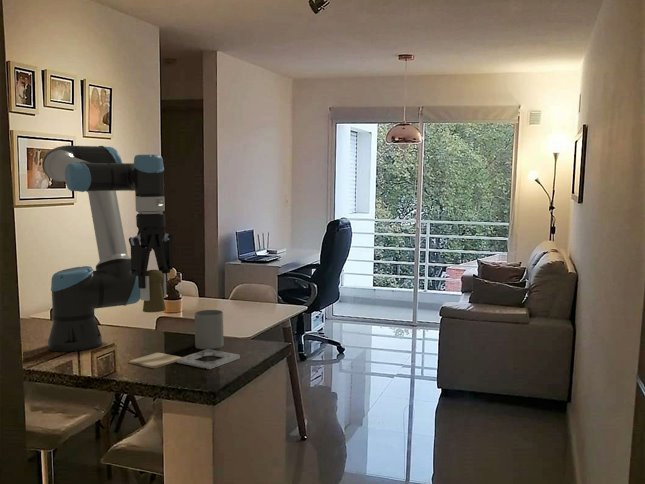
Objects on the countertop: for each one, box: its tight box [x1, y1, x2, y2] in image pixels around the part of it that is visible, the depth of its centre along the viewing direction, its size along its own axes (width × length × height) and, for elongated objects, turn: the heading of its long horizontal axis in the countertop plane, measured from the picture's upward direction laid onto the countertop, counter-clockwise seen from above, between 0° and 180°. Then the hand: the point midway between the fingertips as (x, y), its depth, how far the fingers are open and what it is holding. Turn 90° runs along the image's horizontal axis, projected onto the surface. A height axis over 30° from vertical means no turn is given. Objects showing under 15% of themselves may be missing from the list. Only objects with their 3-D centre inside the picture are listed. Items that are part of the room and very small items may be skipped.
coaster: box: [128, 352, 183, 370], centre depth 172 cm, size 10×10×1 cm
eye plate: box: [176, 349, 241, 370], centre depth 172 cm, size 12×12×1 cm
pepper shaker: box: [142, 269, 167, 313], centre depth 170 cm, size 6×6×11 cm
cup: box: [193, 309, 225, 350], centre depth 187 cm, size 8×8×10 cm
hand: (153, 298), depth 170 cm, fingers closed on pepper shaker, 5 cm apart
